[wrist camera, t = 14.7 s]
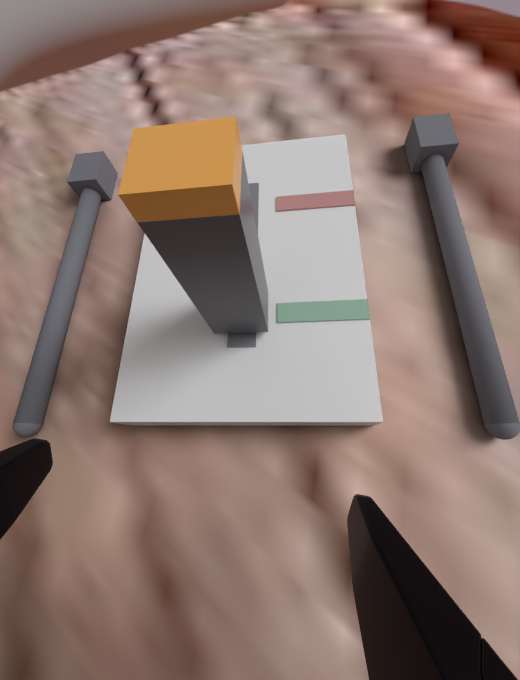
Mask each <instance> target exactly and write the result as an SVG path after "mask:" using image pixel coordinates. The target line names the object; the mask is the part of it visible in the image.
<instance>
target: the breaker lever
mask: <svg viewBox="0 0 520 680" xmlns="http://www.w3.org/2000/svg"><path fill="white" fill-rule="evenodd" d="M118 195H119V197H120V198H121V200H122V201H123V202H124V204H125V205H126V207H127V208H128V210H129V211H130V213H131V214H132V215H133V217H134V218H135V220H136V221H137V223H138V224H139V226H140V227H141V228H142V230H143V231H144V233H145V234H146V236H147V237H148V239H149V240H150V242H151V243H152V244H153V246H154V247H155V249H156V250H157V252H158V253H159V255H160V256H161V257H162V259H163V260H164V262H165V263H166V265H167V266H168V268H169V269H170V270H171V272H172V273H173V275H174V276H175V278H176V279H177V281H178V282H179V284H180V285H181V286H182V288H183V289H184V291H185V292H186V294H187V295H188V297H189V298H190V299H191V301H192V302H193V304H194V305H195V307H196V308H197V310H198V311H199V312H200V314H201V315H202V317H203V318H204V320H205V321H206V323H207V324H208V326H209V327H210V328H211V330H212V331H213V333H214V334H226V333H255V332H268V288H267V282H266V277H265V271H264V266H263V260H262V255H261V249H260V244H259V238H258V233H257V228H256V222H255V217H254V211H253V206H252V200H251V195H250V189H249V184H248V178H247V173H246V167H245V162H244V156H243V151H242V145H241V140H240V134H239V129H238V123H237V118H236V117H229V118H220V119H212V120H203V121H195V122H186V123H178V124H169V125H161V126H152V127H144V128H136V129H134V130H133V134H132V139H131V143H130V147H129V151H128V155H127V160H126V164H125V168H124V172H123V177H122V181H121V185H120V189H119V193H118Z"/></svg>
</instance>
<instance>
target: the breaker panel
mask: <svg viewBox="0 0 520 680" xmlns="http://www.w3.org/2000/svg"><path fill="white" fill-rule="evenodd" d="M242 151H243V156H244V162H245V167H246V173H247V178H248V184H249V189H250V195H251V200H252V206H253V211H254V217H255V222H256V228H257V233H258V238H259V244H260V249H261V255H262V260H263V266H264V271H265V277H266V282H267V288H268V332H255V333H226V334H214V333H213V331H212V330H211V328H210V327H209V326H208V324H207V323H206V321H205V320H204V318H203V317H202V315H201V314H200V312H199V311H198V310H197V308H196V307H195V305H194V304H193V302H192V301H191V299H190V298H189V297H188V295H187V294H186V292H185V291H184V289H183V288H182V286H181V285H180V284H179V282H178V281H177V279H176V278H175V276H174V275H173V273H172V272H171V270H170V269H169V268H168V266H167V265H166V263H165V262H164V260H163V259H162V257H161V256H160V255H159V253H158V252H157V250H156V249H155V247H154V246H153V244H152V243H151V242H150V240H149V239H148V237H147V236H146V234H145V233H144V239H143V244H142V250H141V255H140V260H139V266H138V271H137V277H136V282H135V287H134V293H133V298H132V304H131V309H130V314H129V320H128V325H127V331H126V336H125V341H124V347H123V352H122V358H121V363H120V368H119V374H118V379H117V385H116V390H115V395H114V401H113V406H112V412H111V417H110V422H113V423H119V424H124V425H219V426H374V425H376V424H379V423H382V422H383V418H382V410H381V403H380V395H379V387H378V380H377V372H376V364H375V357H374V349H373V341H372V334H371V326H370V314H369V307H368V299H367V295H366V288H365V280H364V272H363V265H362V257H361V249H360V242H359V234H358V226H357V219H356V211H355V200H354V192H353V188H352V180H351V173H350V165H349V157H348V150H347V142H346V134H344V135H334V136H325V137H315V138H306V139H297V140H287V141H278V142H268V143H259V144H250V145H242Z"/></svg>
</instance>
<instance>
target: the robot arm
mask: <svg viewBox="0 0 520 680" xmlns="http://www.w3.org/2000/svg"><path fill="white" fill-rule="evenodd" d="M52 464H53V460H52V453H51V447H50V443H49V442H48V441H47V440H42V439H31V440H28V441H26V442H23V443H20V444H18V445H15V446H13V447H10V448H8V449H5V450H3V451H0V539H1V538H2V537H3V535H4V534H5V533H6V532H7V531H8V529H9V528H10V527H11V526H12V524H13V523H14V522H15V520H16V519H17V518H18V516H19V515H20V513H21V512H22V511H23V509H24V508H25V506H26V505H27V503H28V502H29V500H30V499H31V498H32V496H33V495H34V493H35V492H36V490H37V489H38V487H39V486H40V485H41V483H42V482H43V480H44V479H45V477H46V476H47V474H48V473H49V472H50V470H51V468H52ZM347 525H348V537H349V549H350V562H351V574H352V584H353V591H354V598H355V603H356V609H357V614H358V620H359V625H360V631H361V637H362V642H363V648H364V653H365V659H366V664H367V670H368V675H369V680H518V679H517V678H516V677H515V676H514V674H513V673H512V672H511V671H510V670H509V668H508V667H507V666H506V665H505V664H504V662H503V661H502V660H501V659H500V657H499V656H498V655H497V654H496V652H495V651H494V650H493V649H492V648H491V646H490V645H489V644H488V643H487V641H486V640H485V639H484V638H481V634H480V633H479V631H478V630H477V629H476V628H475V627H474V625H473V624H472V623H471V622H470V620H469V619H468V618H467V617H466V615H465V614H464V613H463V612H462V610H461V609H460V608H459V607H458V605H457V604H456V603H455V602H454V600H453V599H452V598H451V597H450V595H449V594H448V593H447V592H446V590H445V589H444V588H443V587H442V585H441V584H440V583H439V582H438V580H437V579H436V578H435V577H434V575H433V574H432V573H431V572H430V570H429V569H428V568H427V567H426V565H425V564H424V563H423V562H422V560H421V559H420V558H419V557H418V555H417V554H416V553H415V552H414V550H413V549H412V548H411V547H410V545H409V544H408V543H407V542H406V541H405V539H404V538H403V537H402V536H401V534H400V533H399V532H398V531H397V529H396V528H395V527H394V526H393V524H392V523H391V522H390V521H389V519H388V518H387V517H386V516H385V514H384V513H383V512H382V511H381V509H380V508H379V507H378V506H377V504H376V503H375V502H374V501H373V499H372V498H371V497H369V496H365V495H359V494H356V495H355V496H354V498H353V501H352V504H351V507H350V510H349V514H348V519H347Z"/></svg>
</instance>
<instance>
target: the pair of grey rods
mask: <svg viewBox="0 0 520 680" xmlns="http://www.w3.org/2000/svg"><path fill="white" fill-rule="evenodd" d="M458 144H459V141H458V138H457V135H456V132H455V129H454V126H453V123H452V120H451V117H450V113H447V114H438V115H429V116H420V117H413V120H412V123H411V126H410V129H409V132H408V135H407V138H406V141H405V144H404V145H405V150H406V154H407V159H408V163H409V167H410V172H411V173H414V172H422V174H423V178H424V182H425V186H426V190H427V194H428V198H429V202H430V206H431V210H432V214H433V218H434V222H435V226H436V230H437V235H438V239H439V243H440V247H441V251H442V255H443V259H444V263H445V267H446V271H447V275H448V279H449V283H450V287H451V291H452V295H453V299H454V303H455V308H456V312H457V316H458V320H459V324H460V328H461V332H462V336H463V340H464V344H465V348H466V352H467V356H468V360H469V364H470V368H471V372H472V376H473V381H474V385H475V389H476V393H477V397H478V401H479V405H480V409H481V413H482V417H483V421H484V425H485V428H486V430H487V431H488V432H489V433H490V434H491V435H492V436H494V437H496V438H499V439H511V438H514V437H515V436H517V435H518V433H519V431H520V423H519V419H518V416H517V412H516V409H515V405H514V402H513V398H512V395H511V391H510V388H509V384H508V381H507V377H506V374H505V370H504V367H503V363H502V360H501V356H500V353H499V350H498V346H497V343H496V339H495V336H494V332H493V329H492V325H491V322H490V318H489V315H488V311H487V308H486V304H485V301H484V297H483V294H482V290H481V287H480V283H479V280H478V277H477V273H476V270H475V266H474V263H473V259H472V256H471V252H470V249H469V245H468V242H467V238H466V235H465V231H464V228H463V224H462V221H461V217H460V214H459V210H458V207H457V204H456V200H455V197H454V193H453V190H452V186H451V183H450V179H449V176H448V172H447V169H446V168H447V166H448V164H449V162H450V160H451V158H452V156H453V154H454V152H455V150H456V148H457V146H458ZM116 177H117V172H116V170H115V168H114V167H113V165H112V164H111V162H110V161H109V159H108V157H107V156H106V154H105V153H104V151H102V152H93V153H84V154H76V156H75V159H74V162H73V165H72V168H71V171H70V174H69V177H68V180H67V183H68V184H69V185H70V186H71V187H72V189H73V190H74V191H75V192H76V193H77V194H78V196H79V197H80V199H79V203H78V206H77V209H76V213H75V216H74V219H73V223H72V226H71V230H70V233H69V236H68V240H67V243H66V247H65V250H64V253H63V257H62V260H61V263H60V267H59V270H58V274H57V277H56V280H55V284H54V287H53V290H52V294H51V297H50V301H49V304H48V307H47V311H46V314H45V318H44V321H43V324H42V328H41V331H40V334H39V338H38V341H37V345H36V348H35V351H34V355H33V358H32V361H31V365H30V368H29V372H28V375H27V378H26V382H25V385H24V389H23V392H22V395H21V399H20V402H19V405H18V409H17V412H16V416H15V419H14V422H13V430H14V432H15V433H16V434H18V435H20V436H31V435H34V434H35V433H37V432H38V431H39V430H40V428H41V427H42V424H43V420H44V416H45V412H46V408H47V404H48V401H49V397H50V393H51V389H52V385H53V382H54V378H55V374H56V370H57V366H58V362H59V359H60V355H61V351H62V347H63V343H64V340H65V336H66V332H67V328H68V324H69V321H70V317H71V313H72V309H73V305H74V301H75V298H76V294H77V290H78V286H79V282H80V279H81V275H82V271H83V267H84V263H85V259H86V256H87V252H88V248H89V244H90V240H91V237H92V233H93V229H94V225H95V221H96V217H97V214H98V210H99V206H100V202H101V201H103V200H111V197H112V193H113V189H114V185H115V181H116Z"/></svg>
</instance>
